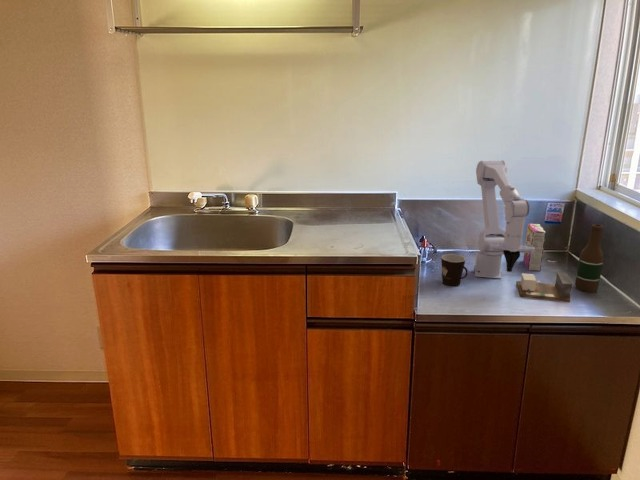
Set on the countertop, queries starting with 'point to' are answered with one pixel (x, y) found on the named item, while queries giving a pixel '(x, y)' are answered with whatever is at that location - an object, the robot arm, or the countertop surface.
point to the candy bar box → (535, 240)
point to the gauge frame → (550, 290)
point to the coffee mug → (452, 269)
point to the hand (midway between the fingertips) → (509, 270)
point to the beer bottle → (590, 262)
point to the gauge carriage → (529, 282)
